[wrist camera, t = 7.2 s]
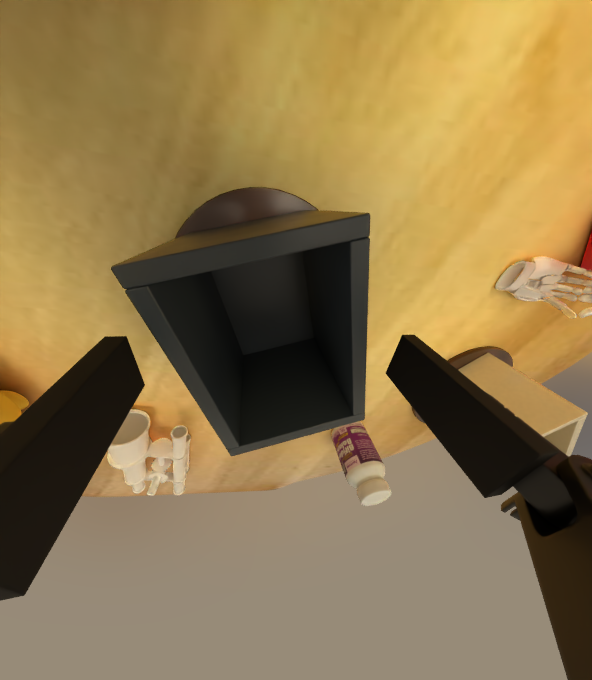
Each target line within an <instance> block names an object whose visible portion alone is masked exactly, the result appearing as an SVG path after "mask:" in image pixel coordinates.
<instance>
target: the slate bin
mask: <svg viewBox="0 0 592 680" xmlns="http://www.w3.org/2000/svg"><path fill="white" fill-rule="evenodd" d="M369 235H370V214H369V213H358V212H338V211H319V210H301V211H296V212H291V213H286V214H281V215H277V216H272V217H267V218H262V219H257V220H252V221H247V222H242V223H237V224H232V225H227V226H222V227H217V228H212V229H207V230H202V231H198V232H193V233H188V234H185V235H183V236H181V237H178V238H176V239H174V240H171V241H169V242H167V243H165V244H162V245H160V246H158V247H155V248H153V249H151V250H148V251H146V252H144V253H141V254H139V255H137V256H135V257H132V258H130V259H128V260H125V261H123V262H121V263H118V264H116V265H114V266H112V267H111V270H112V272H113V273H114V275H115V276H116V278H117V279H118V281H119V283H120V284H121V286H122V287H123V288H124V289H127V290H125V292H126V294H127V295H128V297H129V299H130V300H131V302H132V303H133V305H134V306H135V308H136V309H137V311H138V313H139V314H140V316H141V317H142V319H143V320H144V322H145V323H146V325H147V326H148V328H149V330H150V331H151V333H152V334H153V336H154V337H155V339H156V340H157V342H158V343H159V345H160V347H161V348H162V350H163V351H164V353H165V354H166V356H167V357H168V359H169V361H170V362H171V364H172V365H173V367H174V368H175V370H176V371H177V373H178V374H179V376H180V378H181V379H182V381H183V382H184V384H185V385H186V387H187V388H188V390H189V391H190V393H191V395H192V396H193V398H194V399H195V401H196V402H197V404H198V405H199V407H200V409H201V410H202V412H203V413H204V415H205V416H206V418H207V419H208V421H209V422H210V424H211V426H212V427H213V429H214V430H215V432H216V433H217V435H218V436H219V438H220V439H221V441H222V443H223V444H224V446H225V447H226V449H227V450H228V452H229V453H230V455H231V456H235V455H239V454H242V453H246V452H249V451H253V450H257V449H260V448H264V447H268V446H271V445H275V444H278V443H282V442H286V441H289V440H293V439H296V438H300V437H304V436H307V435H311V434H315V433H318V432H322V431H325V430H329V429H333V428H336V427H340V426H343V425H347V424H351V423H354V422H358V421H361V420H364V419H365V384H366V349H367V315H368V280H369V245H370V239H369V238H368V237H369Z"/></svg>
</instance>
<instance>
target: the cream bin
mask: <svg viewBox="0 0 592 680" xmlns="http://www.w3.org/2000/svg"><path fill="white" fill-rule="evenodd" d="M458 370H459V371H460V372H461V373H462V374H464V375H465V376H466V377H467V378H468V379H470V380H471V381H472V382H473V383H475V384H476V385H477V386H478V387H480V388H481V389H482V390H483V391H485V392H486V393H488V394H490V395H491V396H493V397H494V398H495V399H496V400H498V401H499V402H500V403H501V404H503V405H504V407H505V408H508V409H509V410H510V411H512V412H513V413H514V414H515V416H516V417H519V418H520V419H522V420H523V421H524V422H525V423H527V424H528V425H529V426H530V427H532V428H533V429H534V430H535V431H537V432H538V433H539V434H540V435H542V436H543V437H544V438H545V439H547V440H548V441H549V442H550V443H552V444H553V445H554V446H555V447H557V448H558V449H559V450H560V451H562V452H563V453H564V454H566V455H567V456H571V454H572V451H573V449H574V446H575V443H576V441H577V438H578V436H579V434H580V431H581V428H582V426H583V423H584V421H585V418H586V416H587V414H588V413H587V412H585V411H584V410H582V409H580V408H579V407H577V406H575V405H574V404H572V403H571V402H569V401H567V400H565V399H564V398H562V397H561V396H559V395H557V394H556V393H554V392H552V391H551V390H549V389H547V388H546V387H544V386H543V385H541V384H539V383H538V382H536V381H534V380H533V379H531V378H529V377H528V376H526V375H525V374H523V373H521V372H520V371H518V370H516V369H515V368H513V367H511V366H510V365H508V364H506V363H505V362H503V361H501V360H500V359H498V358H497V357H495V356H493V355H492V354H490V353H486V354H485V355H483V356H481V357H479V358H478V359H476V360H474V361H472V362H470V363H469V364H467V365H465V366H463V367H462V368H460V369H458Z"/></svg>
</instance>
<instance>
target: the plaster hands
mask: <svg viewBox="0 0 592 680" xmlns="http://www.w3.org/2000/svg"><path fill="white" fill-rule="evenodd" d="M522 270H523V271H522ZM521 271H522V273H521V274H520V275H519V273H520V272H521ZM564 271H569V272H573V273H576V274H580V275H582V274H583V275H584V276H587V277H589V278H592V270H587V269H584V268H580V267H577V266H573V265H572V264H567V263H563V262H561V261H558V260H555V259H553V258H549V257H541V256H539V257H534V258H532V262H527V261H519V262H516V263H515V264H514V265H511V266H510V267H508V268H507V269H506V270H505V272H504V273H503V274H502V275H501V276H500V278H499V279H498V281H497V283H496V286H495V288H496V289H498V290H505V291H508V292H509V293H511V294H513V296H514V298H516V299H519V300H522V301H539V300H540V301H544V302H547V303H549V304H550V305H552V306H554V307H555V308H557V309H559V310H562V311H563V312H562V313H564V314H565V315H566V316H567V317H568V318H570V319H574V318H576V317H577V314H576V313H575V312H574V311H572V310H571V309H570V308H568V307H567V304H565V303H563V302H562V301H560V300H558V299H557V298H555V297H558V298H562V297H563V298H564V299H567V300H570V301H576V300H577V296H576V295H581V294H582V293H585V294H583V295H581V296H579V297H578V300H579V301H581V302H588V303H592V294H589V293H592V280H584V279H580V278H573V277H568V276H565V275H562V273H563V272H564ZM518 275H519V276H518ZM546 275H547V276H546ZM551 275H553V276H551ZM517 276H518V278H517V279H516V277H517ZM515 279H516V280H515ZM531 279H536V280H531ZM514 280H515V281H514ZM538 280H541V281H538ZM556 282H561V283H563V282H566V283H572V284H578V285H583V286H587V287H586V288H584V290H582V289H581V288H578V287H576V288H574V287H570V286H565V285H561V284H558V283H556ZM538 289H539V290H538ZM550 290H559V291H564V292H572V293H574V294H575V295H573V294H570V293H567V294H565V293H560V292H554V291H550ZM545 297H550V298H545ZM543 298H545V299H543ZM548 299H549V300H548ZM589 315H592V307H589V308H586V309H584V310H582V311H581V312H580V313H579V314H578V316H579V317H580V318H584V317H586V316H589Z"/></svg>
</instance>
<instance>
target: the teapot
mask: <svg viewBox="0 0 592 680" xmlns="http://www.w3.org/2000/svg"><path fill="white" fill-rule="evenodd" d="M28 405H29V402H28V400H27V399H26V398H25V397H24V396H22V395H20V394H18V393H15V392H12V391H0V424H2V423H4V422H12V421H15V420H16V419H17V418H18V417H19V416H20V415H21V414H22V412H21V409H24V408H26V407H27V406H28Z"/></svg>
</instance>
